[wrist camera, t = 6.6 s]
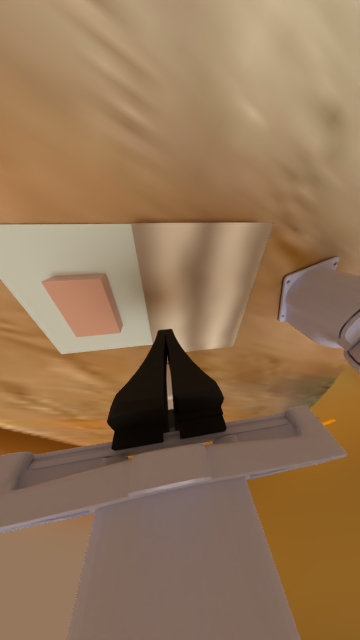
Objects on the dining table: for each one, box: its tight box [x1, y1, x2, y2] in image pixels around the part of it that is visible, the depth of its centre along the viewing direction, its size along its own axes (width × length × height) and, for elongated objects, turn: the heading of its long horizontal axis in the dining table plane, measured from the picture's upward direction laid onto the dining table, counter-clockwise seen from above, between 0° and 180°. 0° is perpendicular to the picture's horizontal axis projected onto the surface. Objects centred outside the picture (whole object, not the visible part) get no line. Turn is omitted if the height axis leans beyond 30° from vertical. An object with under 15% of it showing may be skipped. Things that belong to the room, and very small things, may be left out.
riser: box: [131, 222, 274, 352], centre depth 19 cm, size 14×18×3 cm
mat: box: [0, 224, 153, 354], centre depth 18 cm, size 16×18×1 cm
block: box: [41, 274, 123, 337], centre depth 17 cm, size 6×8×2 cm
